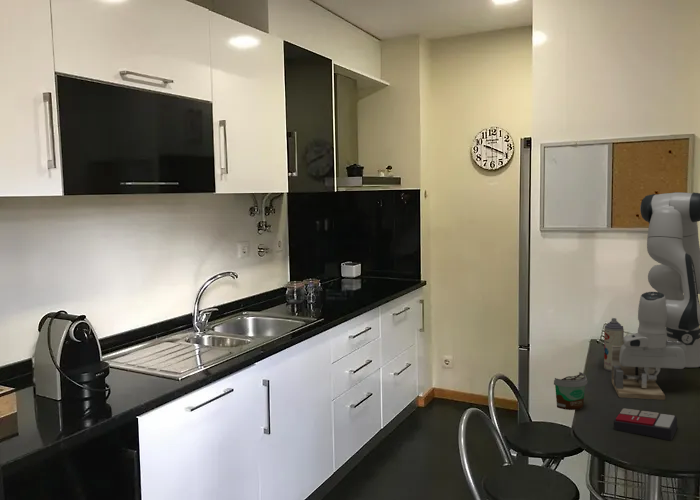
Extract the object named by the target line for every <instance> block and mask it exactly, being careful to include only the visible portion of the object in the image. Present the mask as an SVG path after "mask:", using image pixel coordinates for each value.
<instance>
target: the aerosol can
mask: <svg viewBox="0 0 700 500" xmlns="http://www.w3.org/2000/svg"><path fill="white" fill-rule="evenodd" d="M624 331H625V329H624V326H623V325H622V324H621V323H619V321H618V320H617V318H616V317H611V320H610V321H609V322H607V324H605V325H604V332H603V334H604V336H603V337H604V338H603V339H604V341H603V342H604V343H603V344H604V345H603V346H604V347H603V353H604V354H603V355H604V356H603V363H604V364H603V369H604V370H605V371H607V372H611V373H612V346H622V345H623V344H624V341H623V338H624V337H625V334H624V333H625V332H624Z"/></svg>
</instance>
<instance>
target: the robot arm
mask: <svg viewBox="0 0 700 500" xmlns="http://www.w3.org/2000/svg"><path fill="white" fill-rule="evenodd" d="M639 210H640V214H641V216H640V217H641V218H642V219H643V220H644V221H645V222H647V223H648V230H647V239H646V251H647V254H648V255H649V257H650V258H651V259H652V260H653V261H655V262H656V263H659V264H656V265H653V266H652V267H651V268H650V269H649V271H648V275H647V281H648V284H649V285H650V287H651V288H652V289H654V290H655V291H646V292H643V293H641V295H640V297H639V303H638V309H637V320H638V324H639V325H638V327H637V333H633V334H629V335H624V338H623V341H624V344H623V345H622V346H621V349H620V355H619V362H620V364H621V365H622V366H626V367H643V369H644V371H645V372H646V374H647V380H655V381H657V377H658V375H659V373H660V372H661V369H677V370H678V369H679V370H683V369H684V368H699V367H700V299H699V295H700V241H699V240H700V239H699V227H698V225H699V224H698V222H700V192H670V193H669V192H668V193H660V194H659V193H657V194H655V193H653V194H647V195H645V197H643V198H642V200H641V203H640V207H639ZM649 367H650V368H654V369H655V372H654V373H653V374H649V373H648V371H647V370H649Z"/></svg>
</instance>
